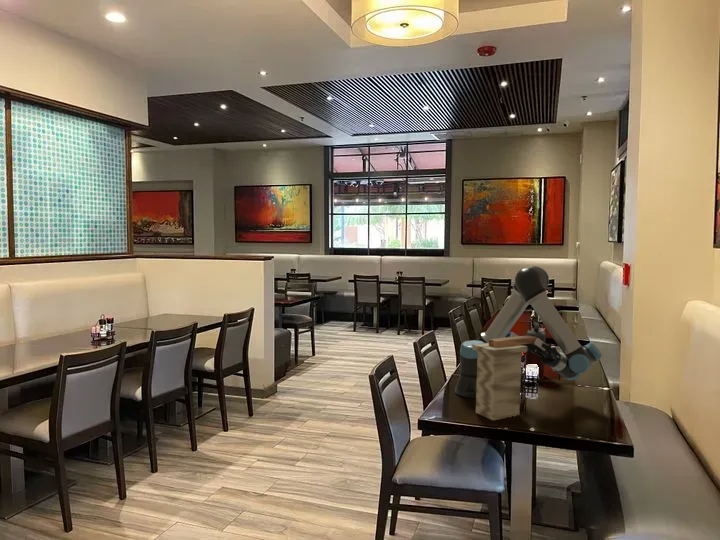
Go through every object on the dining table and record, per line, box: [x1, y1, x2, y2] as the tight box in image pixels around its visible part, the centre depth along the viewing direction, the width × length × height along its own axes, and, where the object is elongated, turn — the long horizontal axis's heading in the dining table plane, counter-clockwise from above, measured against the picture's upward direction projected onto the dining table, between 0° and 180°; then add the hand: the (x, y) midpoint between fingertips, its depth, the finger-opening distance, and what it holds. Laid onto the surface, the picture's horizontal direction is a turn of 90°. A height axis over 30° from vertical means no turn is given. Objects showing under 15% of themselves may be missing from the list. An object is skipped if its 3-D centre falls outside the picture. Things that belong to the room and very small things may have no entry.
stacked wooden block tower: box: [472, 343, 527, 421], centre depth 207 cm, size 12×18×28 cm, turn 118°
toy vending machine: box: [525, 322, 549, 380], centre depth 264 cm, size 9×11×28 cm
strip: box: [489, 334, 536, 347], centre depth 209 cm, size 4×22×2 cm, turn 118°
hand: (523, 337), depth 211 cm, fingers open, 13 cm apart
